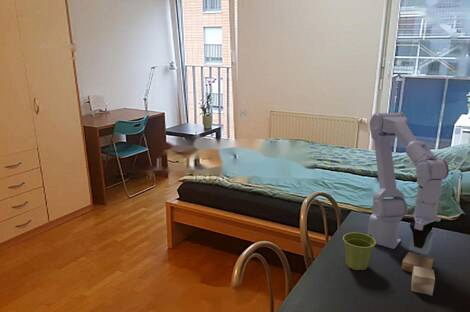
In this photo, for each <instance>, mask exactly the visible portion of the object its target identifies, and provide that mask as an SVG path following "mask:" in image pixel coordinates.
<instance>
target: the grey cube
mask: <svg viewBox="0 0 470 312" xmlns="http://www.w3.org/2000/svg"><path fill="white" fill-rule="evenodd" d="M434 234H435V233H434V232H432V231H431V232H430V233H429V234H428V236H427V238H426V241H425V244H424V246H423V248H422V249H421V248H417V247H414V239H413V233H412V232H411V233H410V239H409V245H408V247H409V248H408V250H410V251H413V252H417V253H420V254H423V255H426V256H428V255H429V253H430V251H431V249H432V247H433V246H432V245H433V241H434V240H433V239H434Z"/></svg>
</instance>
